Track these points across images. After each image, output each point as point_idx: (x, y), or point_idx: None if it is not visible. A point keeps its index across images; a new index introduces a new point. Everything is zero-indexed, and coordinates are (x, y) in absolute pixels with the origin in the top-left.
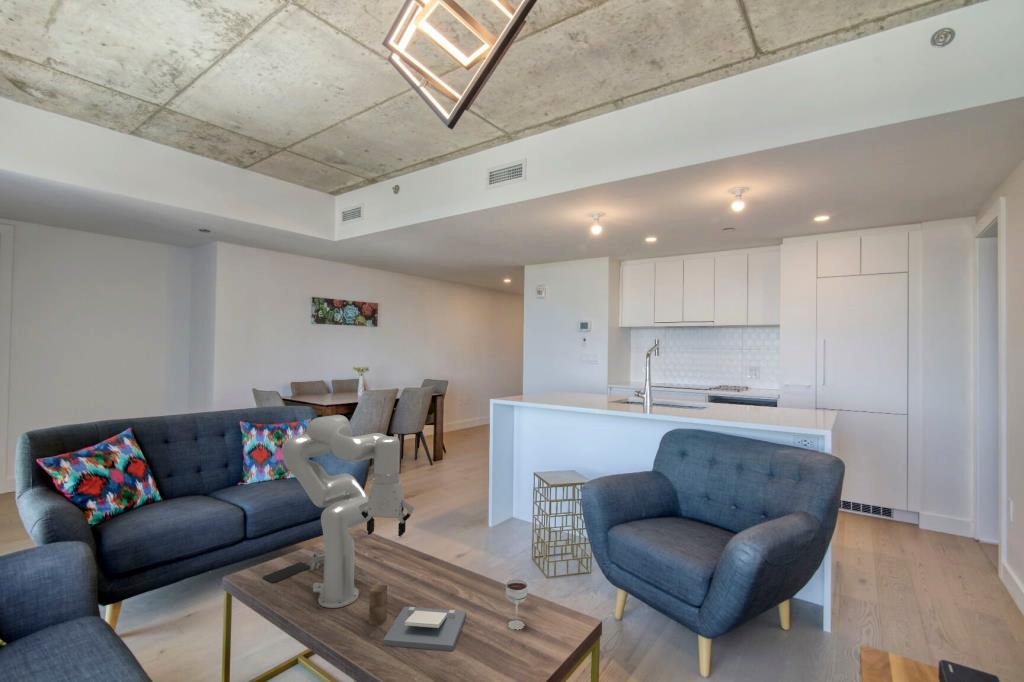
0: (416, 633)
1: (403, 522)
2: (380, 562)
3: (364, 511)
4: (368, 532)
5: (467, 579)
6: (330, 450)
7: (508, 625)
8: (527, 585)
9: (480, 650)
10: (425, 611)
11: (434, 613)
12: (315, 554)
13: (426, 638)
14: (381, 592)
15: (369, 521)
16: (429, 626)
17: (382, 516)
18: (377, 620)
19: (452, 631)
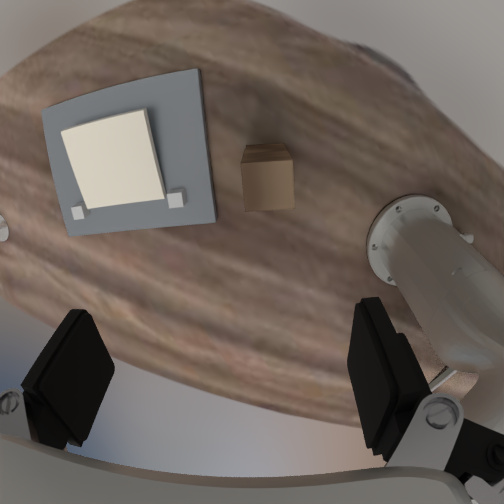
0: None
1: (3, 393)
2: None
3: (494, 483)
4: (377, 307)
5: (144, 356)
6: None
7: (5, 221)
8: None
9: (12, 133)
10: (137, 200)
11: (110, 195)
12: None
13: (96, 109)
14: (243, 163)
15: (405, 403)
16: (82, 123)
17: (153, 486)
18: (258, 146)
19: (58, 155)
